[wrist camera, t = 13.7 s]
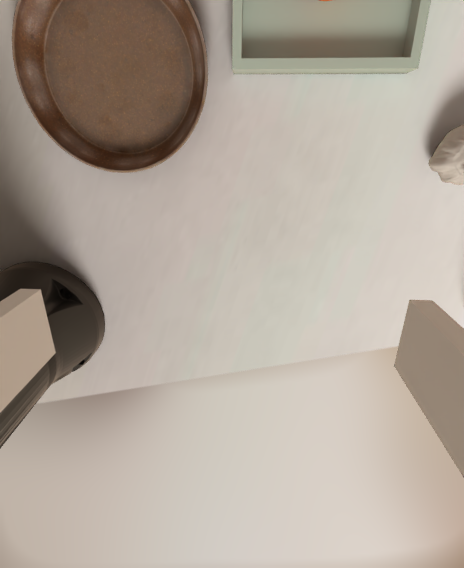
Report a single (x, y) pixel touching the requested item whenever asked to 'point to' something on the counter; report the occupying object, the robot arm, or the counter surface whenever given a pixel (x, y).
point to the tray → (327, 36)
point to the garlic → (450, 157)
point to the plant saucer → (112, 77)
